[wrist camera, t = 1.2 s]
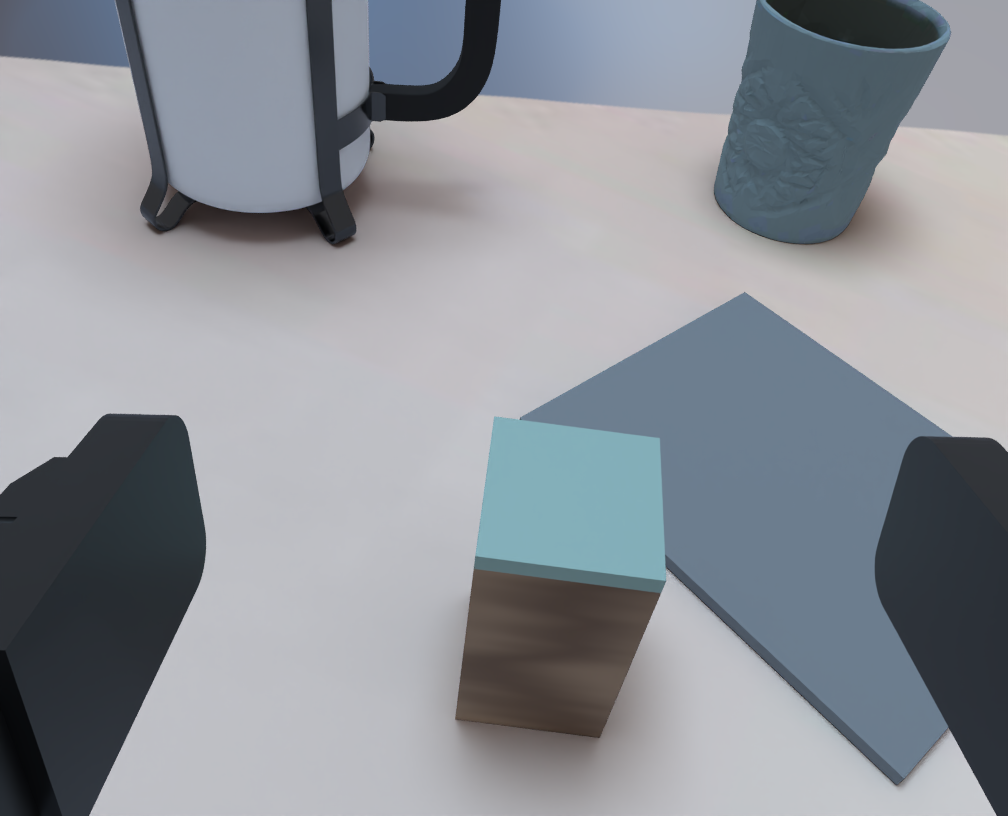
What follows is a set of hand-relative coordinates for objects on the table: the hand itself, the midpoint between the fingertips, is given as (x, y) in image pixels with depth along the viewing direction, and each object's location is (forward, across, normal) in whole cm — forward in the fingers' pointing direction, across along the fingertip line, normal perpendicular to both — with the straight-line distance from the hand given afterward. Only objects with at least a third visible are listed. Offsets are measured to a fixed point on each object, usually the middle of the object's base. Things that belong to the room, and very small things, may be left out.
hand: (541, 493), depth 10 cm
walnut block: (+15, -1, +18) cm, 23 cm away
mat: (+24, -13, +16) cm, 31 cm away
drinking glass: (+46, -17, +9) cm, 50 cm away
